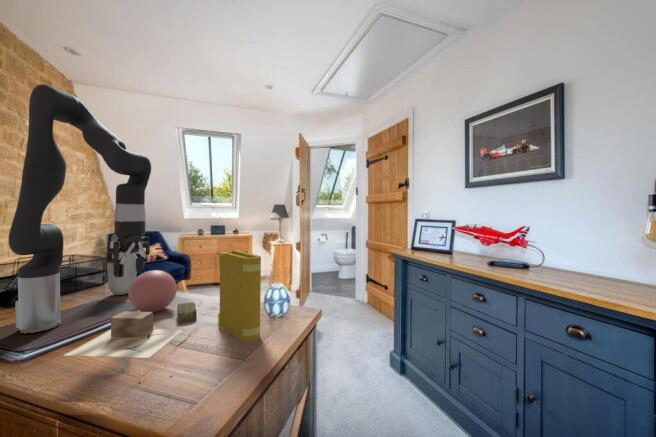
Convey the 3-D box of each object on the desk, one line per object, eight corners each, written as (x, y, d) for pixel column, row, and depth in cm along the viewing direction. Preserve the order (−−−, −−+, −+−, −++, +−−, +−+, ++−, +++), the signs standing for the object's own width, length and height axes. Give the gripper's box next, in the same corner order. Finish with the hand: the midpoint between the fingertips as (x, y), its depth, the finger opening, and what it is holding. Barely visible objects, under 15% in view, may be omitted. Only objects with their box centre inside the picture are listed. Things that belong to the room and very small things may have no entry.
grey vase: (115, 291, 128) (114, 230, 127) (140, 290, 130) (139, 230, 129) (103, 298, 118) (102, 232, 117) (130, 297, 121) (130, 232, 120)
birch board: (63, 361, 71) (63, 355, 71) (112, 333, 87) (112, 328, 87) (149, 363, 71) (149, 357, 71) (182, 334, 87) (182, 330, 87)
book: (218, 327, 93) (218, 252, 92) (236, 321, 98) (237, 250, 97) (245, 344, 81) (246, 259, 80) (264, 337, 86) (265, 256, 85)
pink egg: (162, 298, 119) (162, 263, 119) (183, 310, 107) (183, 270, 106) (118, 308, 107) (118, 268, 107) (137, 322, 95) (136, 278, 94)
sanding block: (111, 338, 80) (110, 317, 80) (124, 330, 85) (123, 311, 85) (141, 339, 80) (141, 318, 80) (153, 331, 85) (153, 312, 85)
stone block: (177, 328, 91) (177, 313, 91) (176, 316, 101) (176, 303, 101) (197, 325, 94) (197, 310, 94) (194, 313, 104) (194, 300, 104)
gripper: (135, 218, 90) (134, 267, 91) (97, 219, 76) (97, 278, 77) (158, 218, 90) (157, 268, 91) (124, 221, 76) (124, 280, 77)
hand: (129, 273), depth 84 cm, fingers open, 8 cm apart
